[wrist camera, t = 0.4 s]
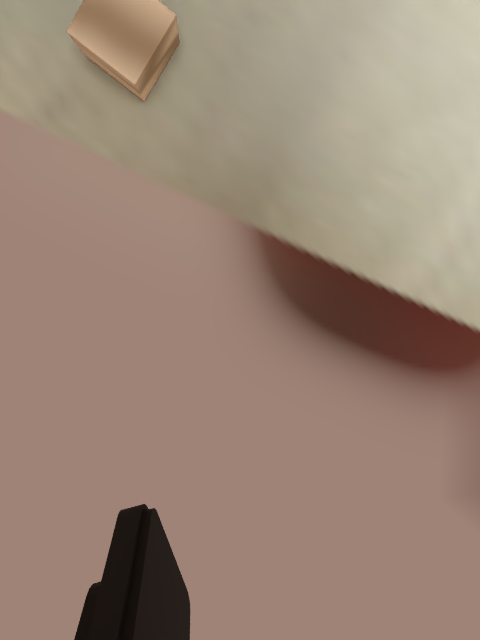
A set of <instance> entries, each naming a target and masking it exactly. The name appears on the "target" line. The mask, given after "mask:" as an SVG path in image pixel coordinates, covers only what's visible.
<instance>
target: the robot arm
mask: <svg viewBox="0 0 480 640" xmlns="http://www.w3.org/2000/svg"><path fill="white" fill-rule="evenodd" d="M74 640H190V601H189V596H188V591H187V588H186V586H185V583H184V581H183V578H182V575H181V573H180V570H179V568H178V565H177V562H176V560H175V557H174V555H173V552H172V549H171V547H170V544H169V542H168V539H167V537H166V534H165V531H164V529H163V526H162V524H161V521H160V518H159V516H158V513H157V511H156V509H155V508H153V509H148V507H147V506H146V505H145V504H142V505H139V506H135V507H131V508H128V509H124V510H121V511H120V512H119V514H118V517H117V521H116V525H115V529H114V533H113V537H112V541H111V545H110V549H109V553H108V557H107V561H106V565H105V569H104V573H103V577H102V581H101V582H98V583H94V584H93V585H92V586H91V587H90V588H89V591H88V594H87V596H86V600H85V603H84V607H83V611H82V614H81V618H80V621H79V625H78V628H77V632H76V636H75V639H74Z"/></svg>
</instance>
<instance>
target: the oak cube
mask: <svg viewBox="0 0 480 640" xmlns="http://www.w3.org/2000/svg"><path fill="white" fill-rule="evenodd" d="M67 33H68V34H69V35H70V37H71V38H72V39H73V40H74V42H75V43H76V44H77V45H78V47H79V48H80V49H81V50H82V52H83V53H84V54H85V55H86V57H87V58H89V59H90V60H91V61H92V62H94V63H95V64H96V65H98V66H99V67H100V68H102V69H103V70H104V71H106V72H107V73H108V74H109V75H111V76H112V77H113V78H115V79H116V80H117V81H119V82H120V83H121V84H122V85H124V86H125V87H126V88H128V89H129V90H130V91H132V92H133V93H134V94H135V95H137V96H138V97H139V98H141V99H142V100H143V101H145V99H146V97H147V96H148V94H149V92H150V91H151V89H152V87H153V86H154V84H155V82H156V81H157V79H158V77H159V76H160V74H161V72H162V71H163V69H164V67H165V66H166V64H167V62H168V61H169V59H170V57H171V56H172V54H173V52H174V51H175V49H176V47H177V46H178V44H179V36H178V28H177V20H176V15H175V14H174V13H173V12H172V11H171V10H169V9H168V8H167V7H166V6H165V5H163V4H162V3H161V2H160V1H159V0H83V2H82V4H81V6H80V8H79V10H78V12H77V13H76V15H75V17H74V19H73V21H72V23H71V24H70V26H69V28H68V30H67Z"/></svg>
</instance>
